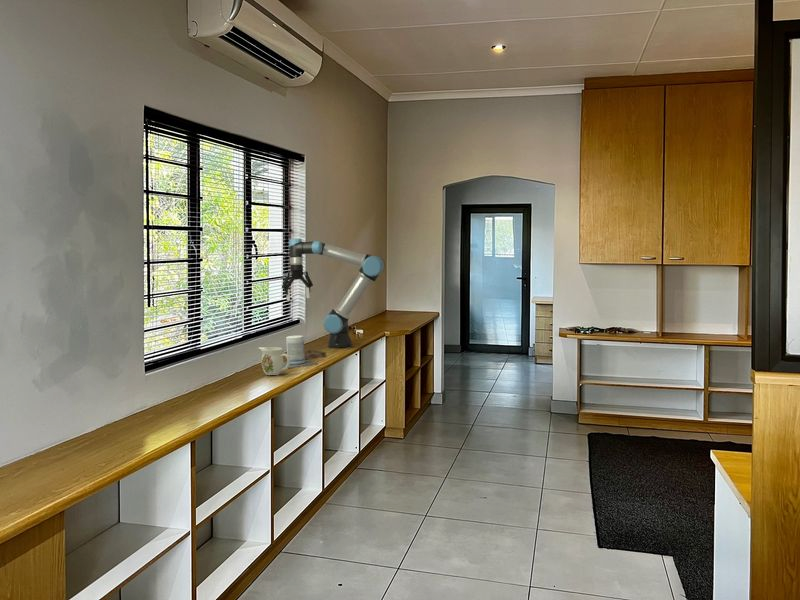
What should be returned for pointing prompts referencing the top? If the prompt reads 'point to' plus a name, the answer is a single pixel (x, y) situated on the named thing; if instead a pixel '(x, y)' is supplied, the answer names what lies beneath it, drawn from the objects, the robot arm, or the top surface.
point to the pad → (299, 364)
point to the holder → (313, 354)
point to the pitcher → (273, 360)
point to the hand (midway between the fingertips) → (298, 299)
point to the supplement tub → (295, 349)
